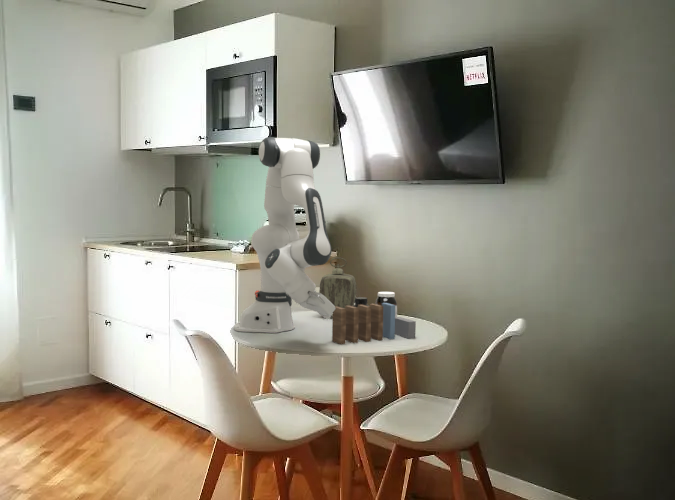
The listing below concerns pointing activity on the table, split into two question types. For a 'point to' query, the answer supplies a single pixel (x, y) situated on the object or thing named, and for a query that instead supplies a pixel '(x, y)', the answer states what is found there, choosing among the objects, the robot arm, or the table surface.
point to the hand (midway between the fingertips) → (328, 317)
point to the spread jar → (387, 299)
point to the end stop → (405, 327)
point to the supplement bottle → (360, 301)
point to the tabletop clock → (339, 287)
